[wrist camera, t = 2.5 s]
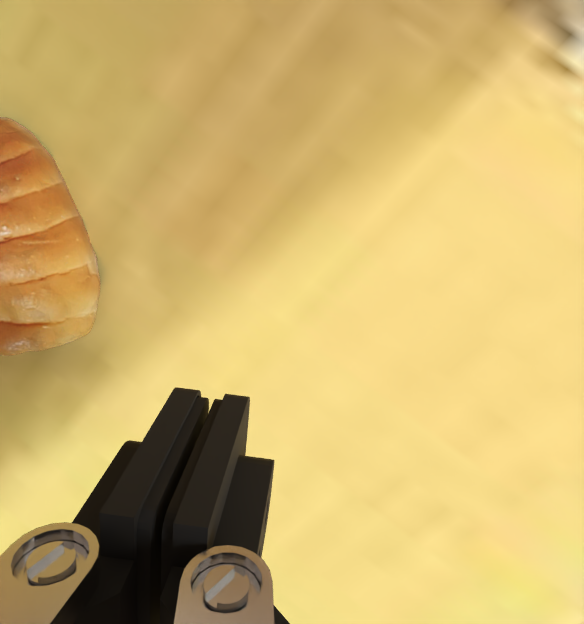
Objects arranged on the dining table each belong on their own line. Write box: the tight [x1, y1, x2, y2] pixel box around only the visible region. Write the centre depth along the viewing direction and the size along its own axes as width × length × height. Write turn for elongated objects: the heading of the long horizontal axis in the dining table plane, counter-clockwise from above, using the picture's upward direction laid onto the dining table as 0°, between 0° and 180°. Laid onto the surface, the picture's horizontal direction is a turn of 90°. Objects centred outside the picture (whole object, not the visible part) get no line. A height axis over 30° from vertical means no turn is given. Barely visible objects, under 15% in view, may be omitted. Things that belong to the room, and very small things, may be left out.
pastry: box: [0, 117, 101, 356], centre depth 21 cm, size 9×7×4 cm
